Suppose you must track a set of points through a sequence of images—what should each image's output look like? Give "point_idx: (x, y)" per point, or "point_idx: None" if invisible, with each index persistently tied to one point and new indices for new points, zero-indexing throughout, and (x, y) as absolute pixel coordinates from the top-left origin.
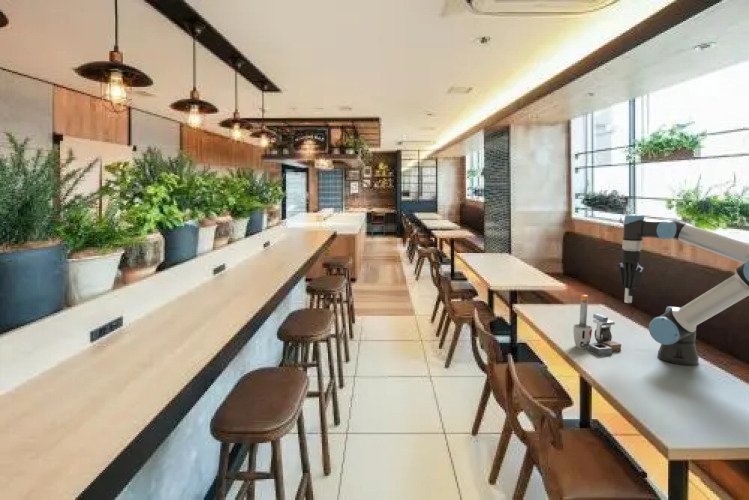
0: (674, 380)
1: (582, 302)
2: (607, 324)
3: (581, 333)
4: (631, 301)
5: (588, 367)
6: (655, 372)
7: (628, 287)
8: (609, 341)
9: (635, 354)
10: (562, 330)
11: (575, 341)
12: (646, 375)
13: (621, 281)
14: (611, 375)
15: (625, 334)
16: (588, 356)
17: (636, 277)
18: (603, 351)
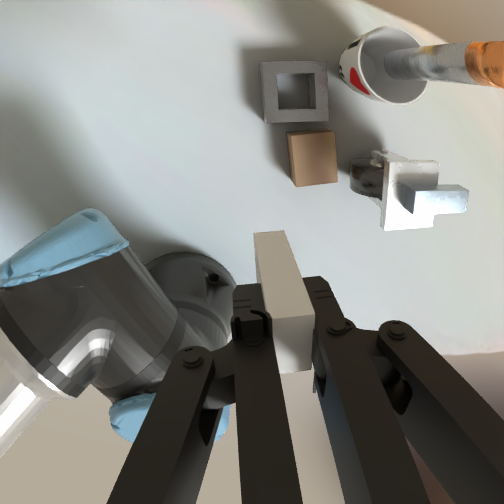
0: (37, 175)
1: (471, 42)
2: (384, 189)
3: (359, 37)
4: (257, 281)
5: None
6: (87, 159)
7: (246, 327)
8: (333, 163)
9: (246, 205)
10: (496, 141)
11: (368, 41)
12: (69, 116)
13: (416, 354)
14: (86, 11)
15: (408, 298)
16: (260, 24)
17: (111, 496)
18: (262, 82)
